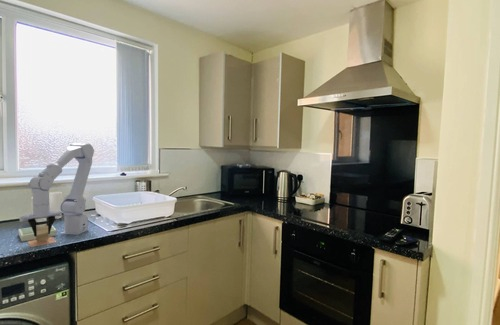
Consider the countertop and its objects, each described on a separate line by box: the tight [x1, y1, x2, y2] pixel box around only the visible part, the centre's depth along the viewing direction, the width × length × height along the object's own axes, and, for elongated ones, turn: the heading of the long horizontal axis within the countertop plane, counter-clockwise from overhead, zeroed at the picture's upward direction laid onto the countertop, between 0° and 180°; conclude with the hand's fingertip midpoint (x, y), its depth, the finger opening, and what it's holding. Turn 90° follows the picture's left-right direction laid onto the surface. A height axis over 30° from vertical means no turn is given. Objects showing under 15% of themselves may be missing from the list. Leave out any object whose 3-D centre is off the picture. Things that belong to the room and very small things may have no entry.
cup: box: [30, 196, 50, 223], centre depth 150 cm, size 8×8×14 cm
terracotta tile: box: [27, 236, 57, 248], centre depth 120 cm, size 9×9×1 cm
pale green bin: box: [18, 224, 58, 242], centre depth 128 cm, size 13×13×3 cm
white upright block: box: [49, 191, 64, 220], centre depth 159 cm, size 7×7×15 cm
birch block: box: [34, 223, 49, 241], centre depth 120 cm, size 4×4×6 cm
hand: (42, 234), depth 119 cm, fingers closed on birch block, 4 cm apart
